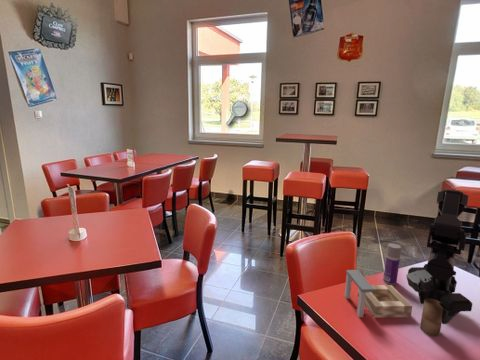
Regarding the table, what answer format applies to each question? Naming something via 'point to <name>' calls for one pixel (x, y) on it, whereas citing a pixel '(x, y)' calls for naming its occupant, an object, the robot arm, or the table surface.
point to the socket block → (387, 302)
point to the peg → (431, 317)
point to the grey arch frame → (361, 284)
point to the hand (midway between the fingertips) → (432, 313)
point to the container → (392, 264)
